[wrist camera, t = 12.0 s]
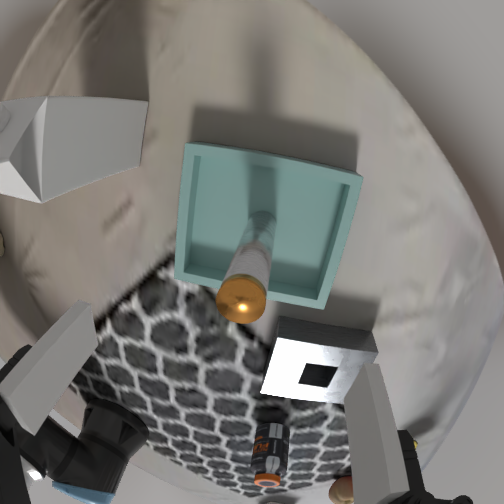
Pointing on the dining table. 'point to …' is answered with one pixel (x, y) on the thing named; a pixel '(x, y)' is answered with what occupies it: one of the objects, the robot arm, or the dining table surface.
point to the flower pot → (1, 246)
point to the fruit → (342, 491)
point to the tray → (273, 201)
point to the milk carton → (66, 143)
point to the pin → (249, 271)
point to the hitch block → (315, 360)
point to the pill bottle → (270, 454)
